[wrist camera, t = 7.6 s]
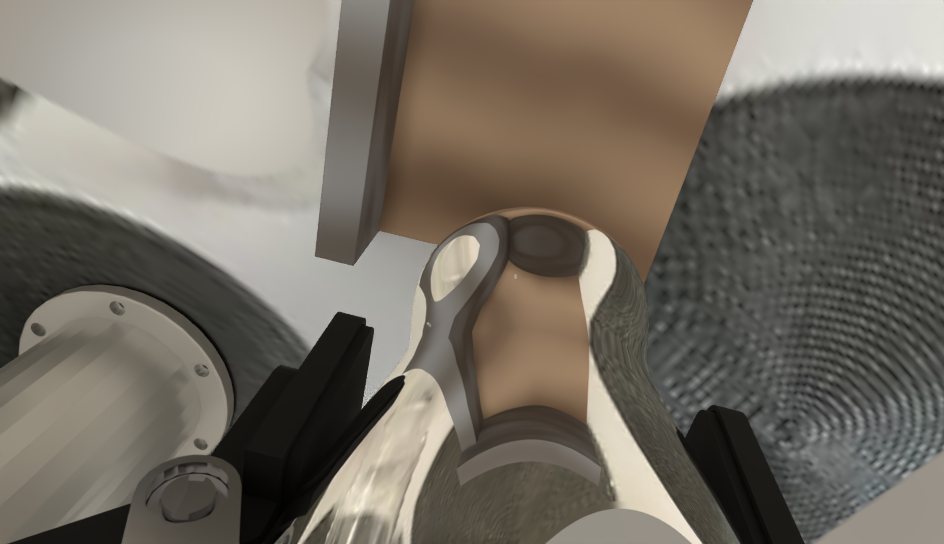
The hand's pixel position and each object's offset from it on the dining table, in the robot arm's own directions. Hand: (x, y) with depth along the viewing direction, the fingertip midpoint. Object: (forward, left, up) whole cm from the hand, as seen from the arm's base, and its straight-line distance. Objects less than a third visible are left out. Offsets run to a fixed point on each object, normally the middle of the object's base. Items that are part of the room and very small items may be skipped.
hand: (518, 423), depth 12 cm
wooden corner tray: (+4, +1, -18) cm, 18 cm away
